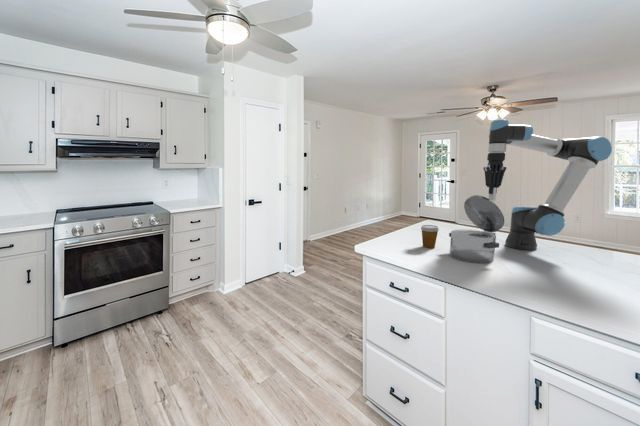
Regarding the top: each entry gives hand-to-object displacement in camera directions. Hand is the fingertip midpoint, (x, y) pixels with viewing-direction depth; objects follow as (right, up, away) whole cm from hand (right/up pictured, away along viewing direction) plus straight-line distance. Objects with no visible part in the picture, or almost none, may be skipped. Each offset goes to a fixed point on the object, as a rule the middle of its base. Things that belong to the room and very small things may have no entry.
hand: (491, 200), depth 151 cm
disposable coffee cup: (-25, -26, +19) cm, 41 cm away
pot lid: (-6, -7, -1) cm, 9 cm away
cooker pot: (-10, -29, +1) cm, 30 cm away
